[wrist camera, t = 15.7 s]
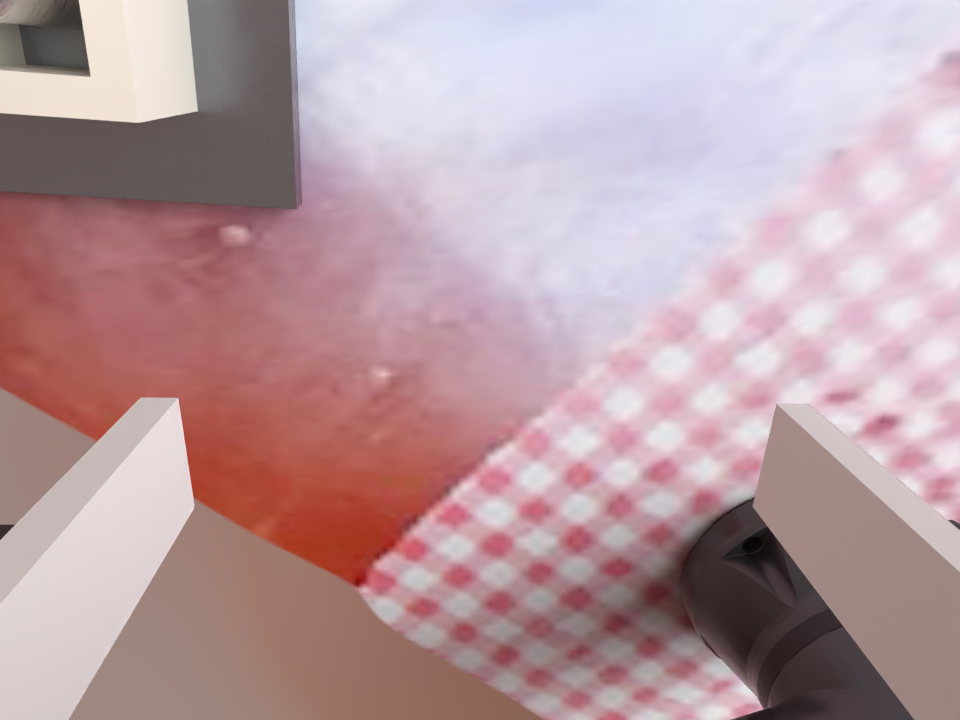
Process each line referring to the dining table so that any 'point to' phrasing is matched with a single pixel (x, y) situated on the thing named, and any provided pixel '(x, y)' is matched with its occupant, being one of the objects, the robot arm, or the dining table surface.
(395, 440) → the dining table surface
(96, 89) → the collar
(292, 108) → the post base
